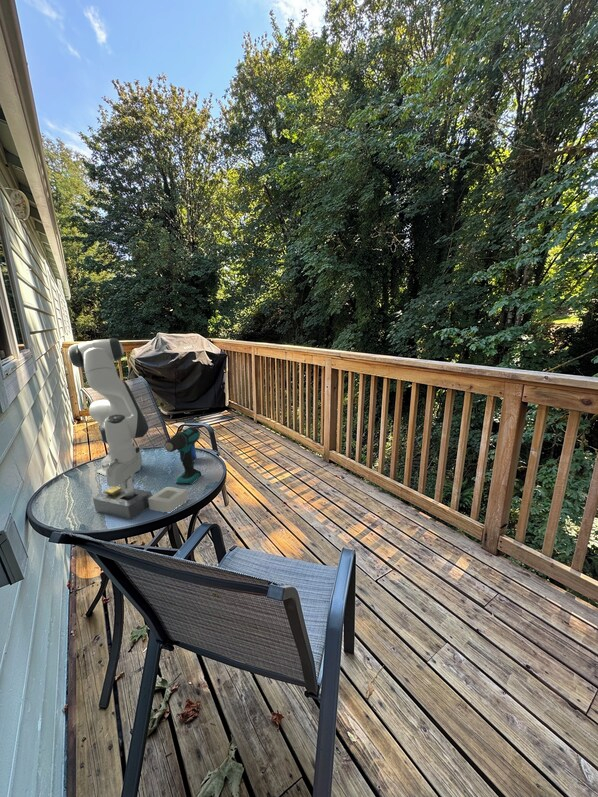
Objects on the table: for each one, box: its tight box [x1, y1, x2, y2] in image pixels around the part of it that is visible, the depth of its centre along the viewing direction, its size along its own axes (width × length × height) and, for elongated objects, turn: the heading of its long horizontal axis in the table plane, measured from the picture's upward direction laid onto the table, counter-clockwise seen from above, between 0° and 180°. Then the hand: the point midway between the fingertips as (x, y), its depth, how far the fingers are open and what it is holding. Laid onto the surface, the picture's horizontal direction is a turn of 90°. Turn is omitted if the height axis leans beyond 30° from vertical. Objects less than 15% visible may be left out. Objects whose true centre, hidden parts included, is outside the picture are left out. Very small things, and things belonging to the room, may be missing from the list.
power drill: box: [164, 426, 202, 485], centre depth 166 cm, size 26×9×25 cm, turn 168°
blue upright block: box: [180, 443, 197, 463], centre depth 191 cm, size 8×8×16 cm
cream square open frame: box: [148, 486, 189, 513], centre depth 148 cm, size 11×11×5 cm
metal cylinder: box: [124, 476, 136, 501], centre depth 145 cm, size 4×4×12 cm
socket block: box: [92, 485, 153, 521], centre depth 147 cm, size 20×12×6 cm, turn 67°
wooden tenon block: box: [103, 485, 122, 496], centre depth 149 cm, size 5×5×8 cm
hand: (128, 485), depth 144 cm, fingers closed on metal cylinder, 4 cm apart
